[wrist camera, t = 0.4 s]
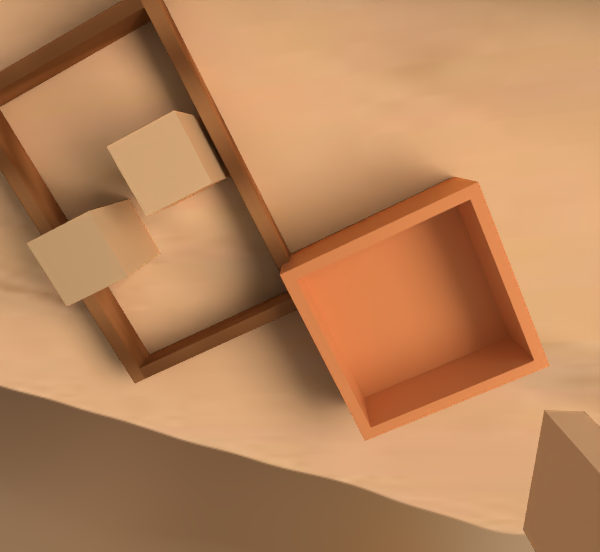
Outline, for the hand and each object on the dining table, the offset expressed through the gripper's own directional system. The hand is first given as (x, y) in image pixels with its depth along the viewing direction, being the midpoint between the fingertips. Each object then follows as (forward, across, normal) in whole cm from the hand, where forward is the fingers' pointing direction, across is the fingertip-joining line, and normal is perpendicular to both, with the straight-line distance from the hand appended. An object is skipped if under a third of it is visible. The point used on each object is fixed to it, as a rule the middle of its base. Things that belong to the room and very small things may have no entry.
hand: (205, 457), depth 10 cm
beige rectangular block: (+23, -11, 0) cm, 25 cm away
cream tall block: (+23, -6, +5) cm, 24 cm away
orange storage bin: (+23, +8, -4) cm, 25 cm away
